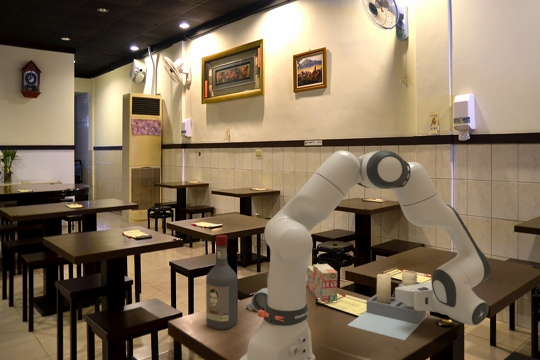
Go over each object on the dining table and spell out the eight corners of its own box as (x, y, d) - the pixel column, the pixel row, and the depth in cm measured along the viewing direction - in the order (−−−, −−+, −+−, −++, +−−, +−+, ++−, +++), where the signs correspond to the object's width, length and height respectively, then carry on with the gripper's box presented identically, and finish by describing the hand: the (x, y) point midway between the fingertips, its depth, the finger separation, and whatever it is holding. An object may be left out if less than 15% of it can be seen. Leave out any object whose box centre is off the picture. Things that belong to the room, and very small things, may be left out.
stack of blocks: (306, 286, 181) (306, 258, 180) (320, 286, 182) (320, 258, 182) (321, 304, 160) (322, 272, 159) (337, 302, 161) (337, 271, 161)
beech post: (413, 304, 140) (414, 275, 140) (399, 301, 143) (400, 273, 143) (418, 300, 144) (418, 272, 144) (404, 298, 147) (404, 270, 146)
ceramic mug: (276, 306, 158) (276, 286, 157) (271, 313, 150) (271, 292, 149) (249, 304, 160) (249, 284, 160) (243, 311, 152) (243, 291, 152)
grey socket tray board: (404, 343, 126) (405, 298, 125) (347, 328, 137) (347, 286, 136) (427, 318, 145) (428, 279, 144) (375, 307, 156) (376, 270, 156)
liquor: (218, 316, 147) (218, 232, 145) (240, 321, 142) (240, 235, 141) (202, 326, 139) (202, 237, 137) (225, 331, 134) (225, 239, 133)
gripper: (462, 283, 136) (430, 272, 148) (413, 291, 127) (384, 279, 140) (461, 302, 136) (430, 289, 149) (413, 311, 128) (383, 297, 140)
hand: (407, 284), depth 144 cm, fingers closed on beech post, 5 cm apart
